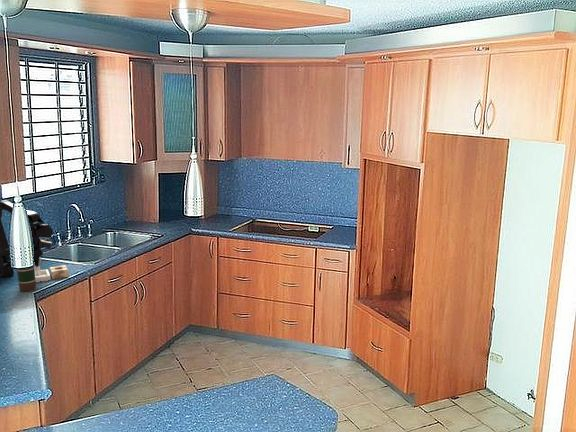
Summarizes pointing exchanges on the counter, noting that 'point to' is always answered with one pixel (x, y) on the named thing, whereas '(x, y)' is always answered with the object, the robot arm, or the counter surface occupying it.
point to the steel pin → (37, 268)
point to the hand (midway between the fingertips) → (36, 265)
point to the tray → (43, 276)
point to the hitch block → (59, 271)
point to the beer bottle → (26, 279)
